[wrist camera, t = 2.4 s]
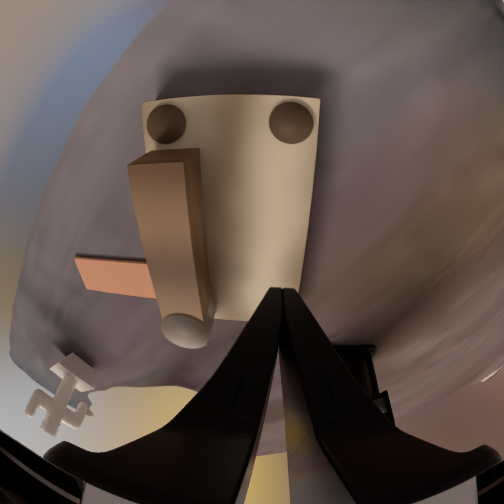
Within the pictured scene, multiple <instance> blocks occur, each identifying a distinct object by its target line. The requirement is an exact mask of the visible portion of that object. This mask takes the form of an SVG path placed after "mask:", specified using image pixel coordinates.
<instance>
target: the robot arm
mask: <svg viewBox="0 0 504 504" xmlns="http://www.w3.org/2000/svg"><path fill="white" fill-rule="evenodd" d="M278 347H279V361H280V372H281V383H282V395H283V407H284V419H285V432H286V445H287V457H288V458H287V459H288V473H289V489H290V504H504V460H503V461H501V460H502V457H501V455H500V454H499V452H497V451H496V450H495V449H493V448H492V447H490V446H488V445H482V446H480V447H477V448H476V449H473V450H471V451H468V452H463V453H462V452H454V451H450V450H447V449H444V448H442V447H439V446H436V445H433V444H431V443H429V442H426V441H424V440H421V439H419V438H417V437H414V436H412V435H410V434H407V433H405V432H403V431H402V430H400V429H399V428H397V427H396V426H395V422H394V417H393V413H392V408H391V404H390V400H389V396H388V392H387V390H386V391H383V392H382V393H379V389H378V384H377V379H376V374H375V370H374V365H373V361H372V357H373V355H374V354H375V352H376V350H377V349H376V346H375V345H368V346H333V345H332V343H331V342H330V340H329V339H328V337H327V336H326V334H325V333H324V331H323V330H322V328H321V327H320V325H319V324H318V322H317V321H316V319H315V318H314V316H313V315H312V313H311V312H310V310H309V309H308V307H307V306H306V304H305V303H304V301H303V300H302V298H301V297H300V295H299V294H298V292H297V291H296V289H295V288H286V287H284V288H283V289H282V288H281V287H270V288H269V289H268V291H267V292H266V294H265V295H264V297H263V299H262V300H261V302H260V303H259V305H258V307H257V308H256V310H255V311H254V313H253V315H252V316H251V318H250V319H249V321H248V323H247V324H246V326H245V327H244V329H243V330H242V332H241V334H240V335H239V337H238V338H237V340H236V341H235V343H234V344H233V346H232V347H231V349H230V351H229V352H228V354H227V356H226V357H225V358H224V359H223V361H222V363H221V364H220V366H219V367H218V368H217V370H216V371H215V372H214V374H213V375H212V377H211V378H210V379H209V380H208V381H207V383H206V384H205V385H204V386H203V387H202V388H201V390H200V391H199V392H198V393H197V394H196V395H195V396H194V397H193V398H192V399H191V401H189V403H188V404H187V405H186V406H185V407H184V408H183V409H182V410H181V411H180V412H179V413H178V414H177V415H176V416H175V417H174V418H173V419H172V420H171V421H170V422H169V423H167V424H166V425H165V426H163V427H162V428H160V429H158V430H156V431H154V432H152V433H150V434H148V435H146V436H143V437H141V438H139V439H137V440H135V441H132V442H130V443H128V444H125V445H123V446H121V447H118V448H116V449H113V450H110V451H107V452H100V453H97V452H90V451H87V450H84V449H82V448H80V447H78V446H76V445H74V444H71V443H69V442H66V441H62V442H61V443H59V444H57V445H55V446H53V447H52V448H50V449H49V450H48V451H47V452H46V453H45V454H44V456H43V458H42V457H41V456H39V455H38V454H36V453H35V452H33V451H32V450H30V449H29V448H27V447H25V446H24V445H22V444H21V443H20V442H18V441H17V440H15V439H13V438H12V437H10V436H9V435H7V434H6V433H4V432H3V431H2V430H0V504H244V501H245V497H246V494H247V489H248V486H249V482H250V478H251V474H252V471H253V466H254V462H255V458H256V454H257V450H258V446H259V441H260V437H261V432H262V428H263V423H264V419H265V414H266V410H267V405H268V400H269V395H270V390H271V385H272V380H273V375H274V370H275V365H276V359H277V354H278ZM382 411H383V412H384V413H383V412H382ZM500 461H501V462H500ZM83 481H84V482H83Z"/></svg>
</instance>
